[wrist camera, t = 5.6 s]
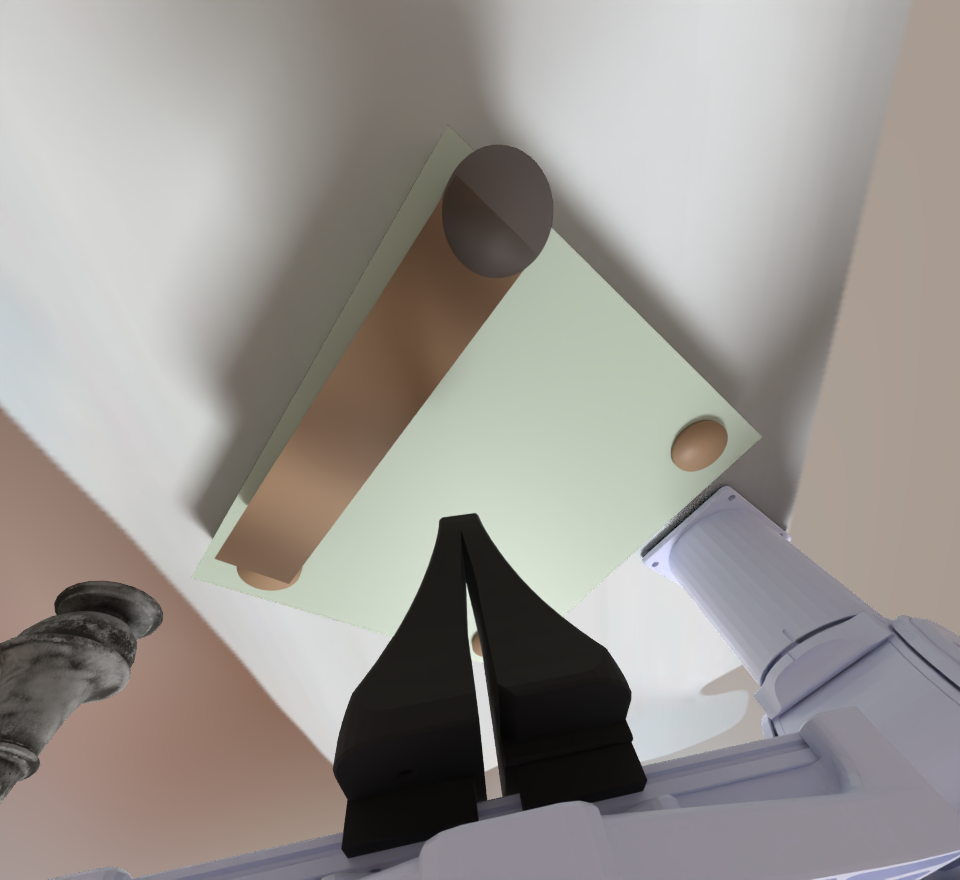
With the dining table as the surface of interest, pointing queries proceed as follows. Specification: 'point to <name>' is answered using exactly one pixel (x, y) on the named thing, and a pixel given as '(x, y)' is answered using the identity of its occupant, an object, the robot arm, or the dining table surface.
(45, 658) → the salt shaker
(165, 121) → the dining table surface
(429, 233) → the folding leg
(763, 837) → the robot arm
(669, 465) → the stool seat
